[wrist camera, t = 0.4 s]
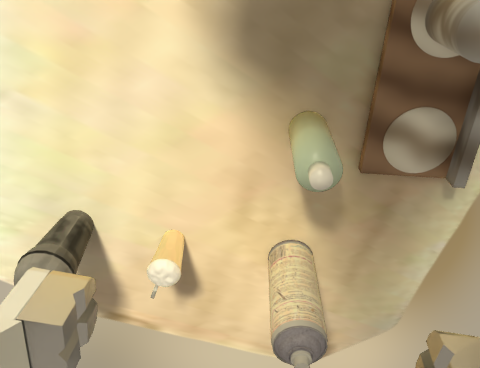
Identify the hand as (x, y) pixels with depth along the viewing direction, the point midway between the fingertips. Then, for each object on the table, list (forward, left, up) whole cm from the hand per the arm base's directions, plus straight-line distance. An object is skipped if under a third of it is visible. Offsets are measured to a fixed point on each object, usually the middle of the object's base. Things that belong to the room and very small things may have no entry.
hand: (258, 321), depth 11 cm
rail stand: (+6, +22, -47) cm, 52 cm away
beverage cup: (+30, -24, -47) cm, 61 cm away
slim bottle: (+13, +8, -47) cm, 49 cm away
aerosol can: (+34, +8, -47) cm, 59 cm away
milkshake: (+32, -10, -47) cm, 58 cm away
